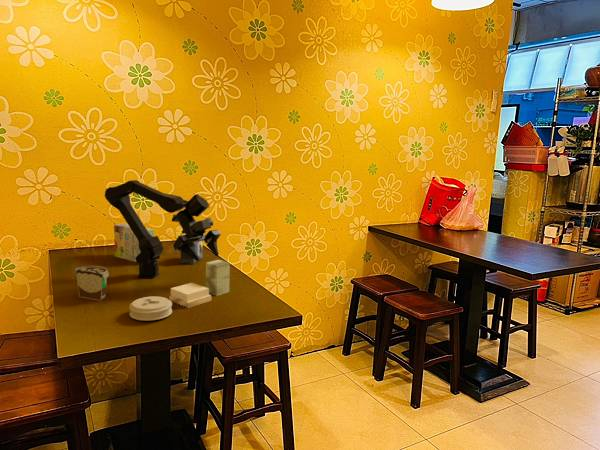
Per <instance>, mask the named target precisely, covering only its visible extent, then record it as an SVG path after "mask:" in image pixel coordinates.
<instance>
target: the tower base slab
mask: <svg viewBox="0 0 600 450" xmlns="http://www.w3.org/2000/svg"><path fill="white" fill-rule="evenodd" d="M168 298H169V299H168V300H170V301H171V302H172V301H173V302H172V303H174V302H175V304H177V303H178V304H177V305H179V304H180V306H182V305H183V306H182V307H184V306H185V307H184V308H187V309H190V308H192V307H195V306H199V305H201V304H205V303H208V302H211V301H212V294H209V295H208V296H205V297H202V298H198V299H195V300H192V301H189V302H186V301H184V300H181V299H179V298H176V297H174V296H171V294H169V297H168Z"/></svg>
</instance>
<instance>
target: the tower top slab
mask: <svg viewBox="0 0 600 450" xmlns="http://www.w3.org/2000/svg"><path fill="white" fill-rule="evenodd" d="M170 295H171V296H174V297H176V298H179V299H181V300H184V301H186V302H189V301H192V300H195V299H198V298H202V297H205V296H208V295H210V293H209V288H206V286H202V285H200V284H197V283H195V282H189V283H185V284H182V285H178V286H174V287H171V288H170Z"/></svg>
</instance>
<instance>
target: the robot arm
mask: <svg viewBox="0 0 600 450" xmlns="http://www.w3.org/2000/svg"><path fill="white" fill-rule="evenodd" d="M133 193H134V194H136V195H139V196H141V197H143V198H145V199H147V200H149V201H152V202H154V203H156V204H157V205H158V206H159V207H160V208H161V209H162V210H164V211H166V212H167V213H168V214H169V213H170V214H171V213H176V214H173V215H172V218H171V222H173V223H174V222H176V223H178V224H179V226H180V227H181V229H182V230H181V235H178V237H176V239H175V240H174V241H173V243H172V247H173V248H174V250H175V251H178V252H180V253H181V252H183V253H185V254H187V255H189V256H190V257H192V258H193V259H195V260H196V261H198V262H199V257H198V255H197V253H196V251H195V249H194V248H193V244H192V243H193V242H199V241H203V242H204V243H205V244H206V247H207V248H208V249H209V250H210V251H211V252H212V253H213V255H214V256H215V257H218V256H219V255H220V254H219V249H218V240H219V239H220V237H221V232H220V230H219V229H213V230H212V229H211V228H212V226H214V221H213V220H212V218H210V217H206V218H204V219H203V220H197V221H196V219H195V217H197V218H198V217H200V216H201V215H202V214H203V213H204V212H205V211H206V210H207V209H209V207H210V203H209V202H208V201H207V199H206V198H204V197H203V196H201V195H199V193H196V194H194V195H193V196H192V197H191V198H190V199H188V200H185V199H184V198H182V197H181V196H179V195H176V194H170V193H164V192H162V191H159V190H157V189H156V188H153V187H151V186H149V185H147V184H144V183H143V182H140V181H139V180H137V179H134V180H128V181H127V182H124V183H122V184H119V185H116V186H110V187H108V188H106V189H105V191H104V197H105V199H106V201H107V202H108V203H109V204H110V205H111V206H112V207H114V208H115V209H116V210H118V212H120V214H121V216H122V217H123V219H124V221H125V223H126V224H128V225H129V227H130V228H131V230H132V231H133V233H134V235H135V236H136V238H137V239H138V241H139V249H140V252H141V253H140V254H139V255H138V256H137V257H136V258H135V259H136V261H137V262H136V263H137V264H138V273H139V274H138V275H137V278H139V279H140V278H141V279H143V278H144V279H154V278H156V277H158V276H159V275H160V271H159V269H160V268H159V267H160V266H159V264H158V260H159V259H160V258H161V255H162V254H163V252H164V246H163V245H164V243H163V242H162V241H161V240H160V238H159V236H158V235H154V237H153V236H151V235H150V234H149V232H148V231H147V229H146V228H147V227H146V226H145V224H144V223H143V222H142V220H141V218H140V217H139V216H138V214H137V212H136V211H135V209H134V208H133V206H132V204H131V197H130V195H132V194H133ZM208 229H211V230H208ZM207 230H208V232H207ZM206 232H207V233H206ZM205 233H206V234H205Z"/></svg>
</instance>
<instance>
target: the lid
mask: <svg viewBox="0 0 600 450" xmlns="http://www.w3.org/2000/svg"><path fill="white" fill-rule="evenodd" d="M172 307H173V302H172V301H170V300H169V299H168V298H167V297H163V296H159V295H158V296H156V295H154V296H153V295H151V296H144V297H141V298H137V299H135V300H134V301H132V302H131V303H130V304H129V310H130V311H129V316H130V317H131V318H132V319H134V320H137V321H156V320H160V319H161V320H162V319H165V318H166V317H169V316H170V315H172V314H173V309H172Z"/></svg>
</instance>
